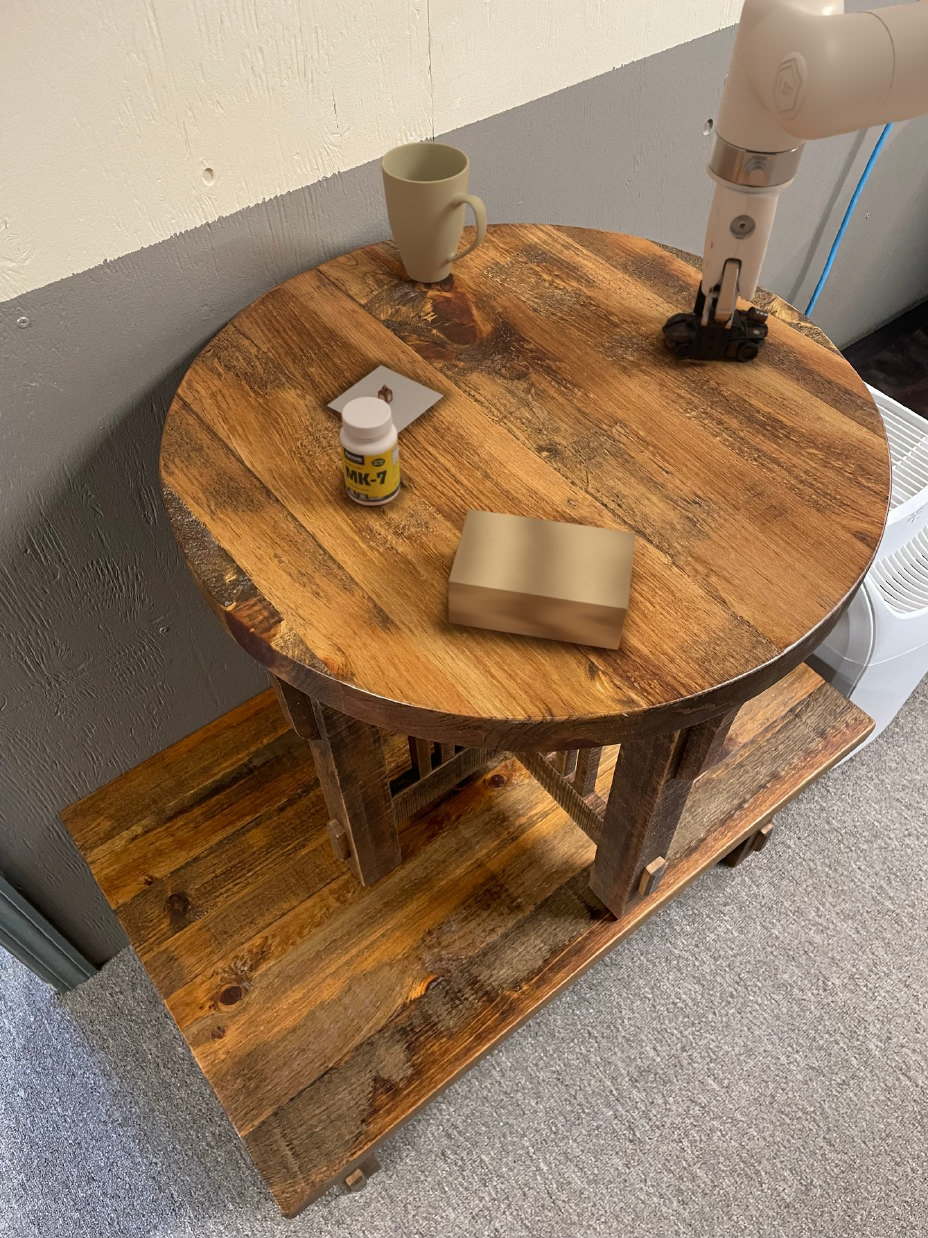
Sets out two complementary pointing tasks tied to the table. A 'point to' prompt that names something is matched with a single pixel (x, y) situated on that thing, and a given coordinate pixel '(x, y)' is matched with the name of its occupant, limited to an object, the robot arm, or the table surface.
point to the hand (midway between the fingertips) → (707, 335)
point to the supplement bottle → (369, 451)
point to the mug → (429, 206)
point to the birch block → (541, 578)
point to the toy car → (742, 337)
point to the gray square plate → (391, 395)
